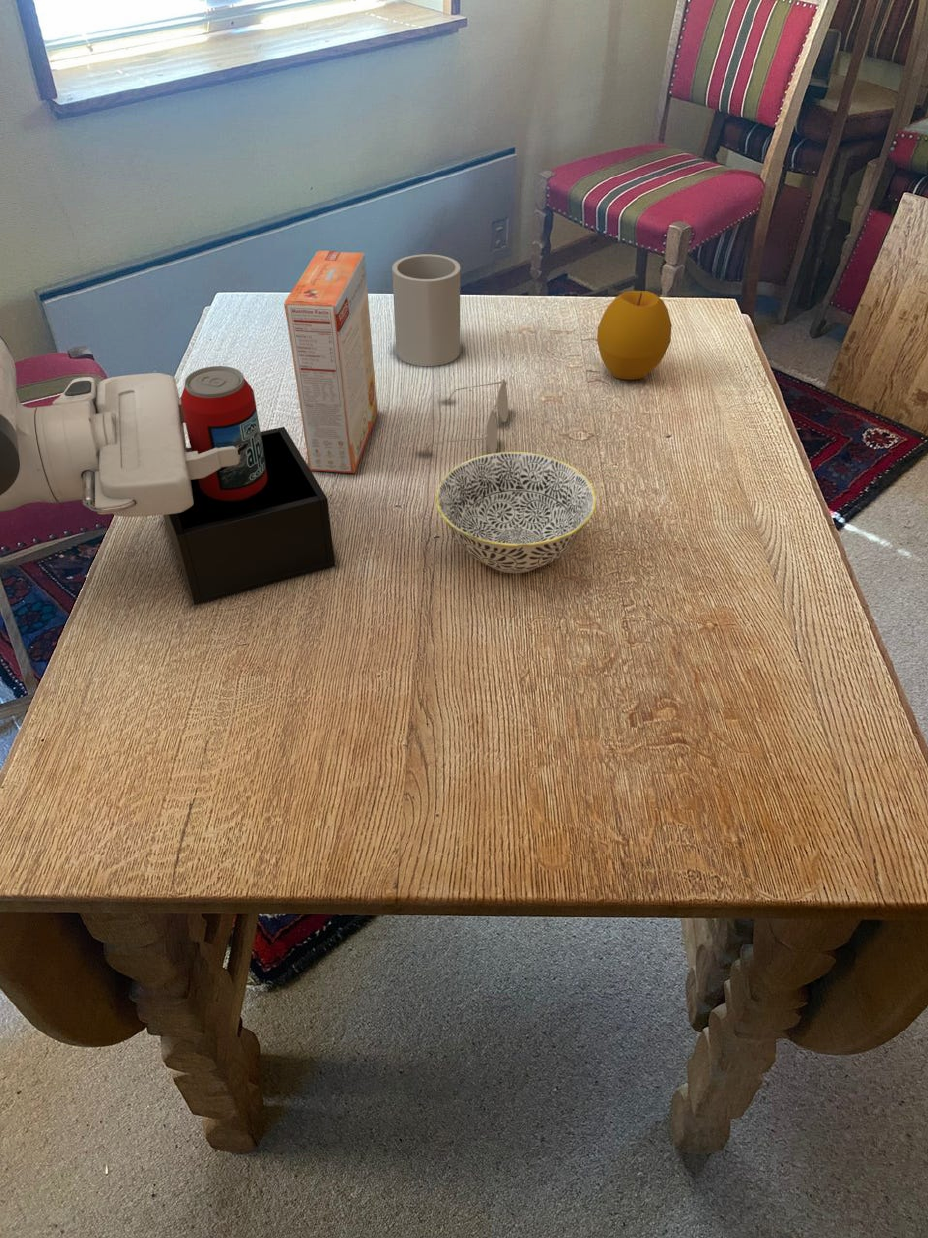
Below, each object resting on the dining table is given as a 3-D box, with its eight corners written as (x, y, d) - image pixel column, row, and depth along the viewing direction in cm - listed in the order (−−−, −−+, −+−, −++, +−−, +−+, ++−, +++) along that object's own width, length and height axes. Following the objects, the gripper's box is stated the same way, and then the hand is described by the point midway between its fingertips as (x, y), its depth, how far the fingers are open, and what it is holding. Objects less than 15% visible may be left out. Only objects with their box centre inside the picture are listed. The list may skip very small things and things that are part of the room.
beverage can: (247, 513, 88) (227, 403, 80) (187, 498, 90) (161, 389, 82) (280, 476, 93) (264, 369, 85) (223, 463, 95) (202, 357, 87)
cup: (459, 366, 126) (460, 281, 118) (394, 365, 126) (390, 280, 118) (460, 337, 132) (460, 254, 124) (398, 336, 133) (394, 253, 124)
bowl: (477, 621, 88) (478, 561, 83) (413, 531, 98) (411, 472, 93) (617, 576, 93) (626, 517, 88) (542, 495, 103) (547, 437, 98)
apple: (619, 400, 119) (631, 314, 111) (577, 369, 125) (586, 286, 117) (678, 382, 123) (693, 298, 115) (634, 353, 129) (646, 271, 121)
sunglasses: (491, 465, 108) (485, 428, 104) (424, 466, 110) (416, 430, 107) (511, 407, 118) (506, 371, 114) (449, 409, 120) (442, 375, 117)
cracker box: (333, 411, 117) (316, 247, 102) (379, 415, 116) (368, 250, 102) (304, 472, 107) (280, 298, 92) (354, 476, 106) (338, 302, 92)
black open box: (194, 605, 89) (176, 536, 83) (165, 524, 99) (146, 456, 93) (335, 566, 94) (327, 497, 88) (294, 492, 103) (284, 426, 98)
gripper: (71, 484, 75) (240, 459, 78) (75, 369, 89) (217, 352, 92) (91, 544, 79) (250, 518, 82) (92, 425, 94) (228, 407, 97)
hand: (233, 429), depth 87 cm, fingers closed on beverage can, 7 cm apart
